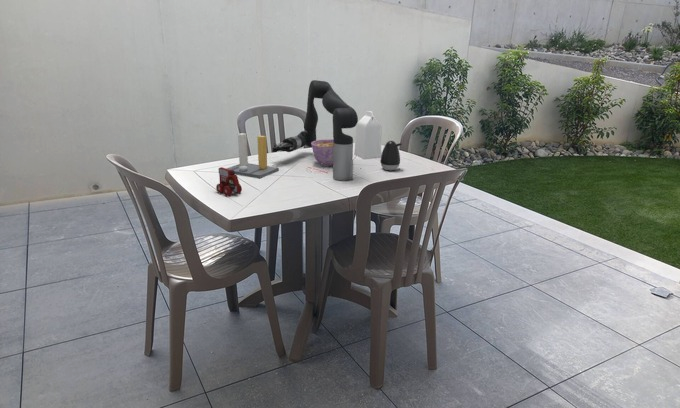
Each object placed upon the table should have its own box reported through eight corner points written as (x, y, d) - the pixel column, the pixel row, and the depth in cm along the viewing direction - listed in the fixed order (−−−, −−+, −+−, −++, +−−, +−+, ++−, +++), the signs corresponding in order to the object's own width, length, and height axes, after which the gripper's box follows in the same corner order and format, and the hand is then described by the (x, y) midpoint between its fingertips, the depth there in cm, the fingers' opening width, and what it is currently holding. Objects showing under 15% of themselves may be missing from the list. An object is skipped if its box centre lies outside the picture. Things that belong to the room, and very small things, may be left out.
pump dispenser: (397, 173, 221) (399, 143, 216) (377, 170, 224) (379, 141, 219) (401, 168, 230) (403, 139, 225) (382, 166, 233) (384, 138, 228)
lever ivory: (248, 164, 224) (246, 133, 219) (244, 166, 222) (242, 134, 216) (243, 164, 225) (241, 133, 220) (239, 165, 223) (237, 134, 217)
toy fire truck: (231, 197, 180) (230, 173, 177) (214, 191, 188) (212, 168, 184) (245, 194, 185) (243, 170, 182) (227, 188, 193) (226, 165, 189)
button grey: (249, 170, 215) (249, 166, 215) (244, 172, 212) (243, 168, 211) (242, 169, 217) (242, 165, 216) (237, 171, 213) (237, 167, 213)
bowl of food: (349, 160, 244) (350, 140, 240) (346, 169, 225) (347, 147, 221) (314, 159, 246) (314, 138, 242) (308, 168, 227) (308, 146, 223)
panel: (278, 170, 221) (278, 167, 220) (259, 178, 207) (259, 175, 207) (243, 165, 230) (243, 162, 229) (223, 172, 216) (223, 169, 216)
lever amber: (267, 167, 219) (266, 136, 214) (263, 169, 217) (262, 137, 211) (262, 166, 220) (261, 135, 215) (258, 168, 218) (257, 136, 213)
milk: (354, 154, 258) (355, 110, 249) (371, 153, 262) (373, 109, 254) (363, 159, 247) (365, 113, 239) (381, 157, 252) (383, 112, 243)
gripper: (281, 135, 241) (263, 141, 226) (302, 138, 235) (284, 144, 221) (281, 149, 243) (263, 155, 229) (302, 152, 238) (284, 158, 223)
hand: (273, 149), depth 225 cm, fingers closed
